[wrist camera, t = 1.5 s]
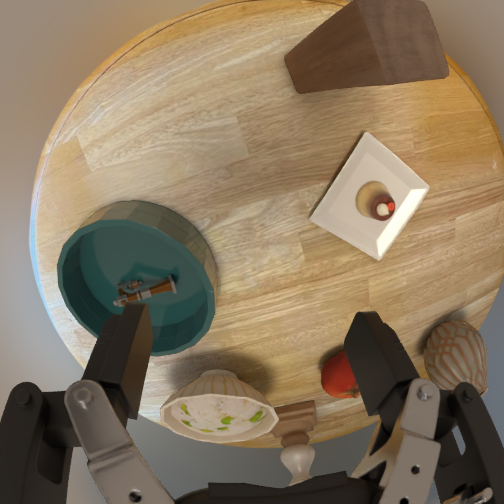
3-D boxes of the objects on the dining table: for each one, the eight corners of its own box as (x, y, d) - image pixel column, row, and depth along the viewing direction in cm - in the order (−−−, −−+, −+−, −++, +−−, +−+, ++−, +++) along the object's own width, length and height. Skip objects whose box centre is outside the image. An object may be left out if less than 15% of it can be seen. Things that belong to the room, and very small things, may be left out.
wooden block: (359, 41, 22) (477, 8, 6) (371, 78, 24) (498, 77, 8) (282, 56, 23) (352, -4, 7) (297, 94, 25) (386, 86, 9)
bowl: (290, 386, 48) (299, 431, 40) (208, 413, 52) (207, 453, 44) (234, 329, 40) (236, 385, 31) (143, 367, 44) (132, 415, 35)
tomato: (332, 379, 49) (343, 413, 42) (305, 363, 45) (314, 401, 38) (372, 353, 46) (387, 387, 39) (349, 334, 42) (365, 371, 35)
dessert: (425, 185, 30) (447, 197, 26) (376, 256, 35) (391, 276, 31) (361, 129, 27) (382, 135, 23) (306, 216, 32) (317, 234, 28)
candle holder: (263, 409, 53) (274, 511, 32) (314, 399, 52) (337, 500, 31) (270, 428, 58) (281, 515, 37) (314, 419, 58) (333, 505, 37)
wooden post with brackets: (109, 282, 33) (111, 301, 29) (165, 264, 36) (174, 282, 32) (113, 293, 34) (116, 313, 30) (168, 276, 37) (177, 294, 33)
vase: (453, 298, 41) (503, 364, 26) (468, 321, 46) (508, 377, 31) (404, 344, 46) (441, 416, 31) (426, 360, 51) (458, 420, 35)
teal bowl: (53, 257, 32) (34, 279, 27) (145, 166, 28) (128, 179, 23) (145, 344, 41) (138, 371, 36) (247, 288, 36) (249, 317, 31)
